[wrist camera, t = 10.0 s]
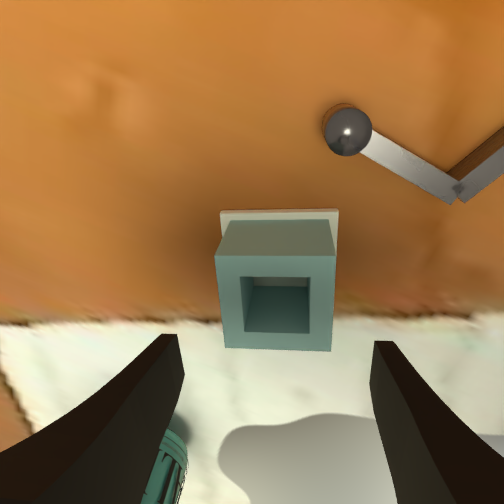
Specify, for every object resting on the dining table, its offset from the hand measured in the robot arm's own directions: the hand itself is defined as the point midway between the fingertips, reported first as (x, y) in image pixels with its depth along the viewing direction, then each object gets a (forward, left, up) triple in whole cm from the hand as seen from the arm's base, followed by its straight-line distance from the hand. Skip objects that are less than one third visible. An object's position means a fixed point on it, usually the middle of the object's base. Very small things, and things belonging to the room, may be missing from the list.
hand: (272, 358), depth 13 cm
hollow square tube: (0, 0, -7) cm, 7 cm away
